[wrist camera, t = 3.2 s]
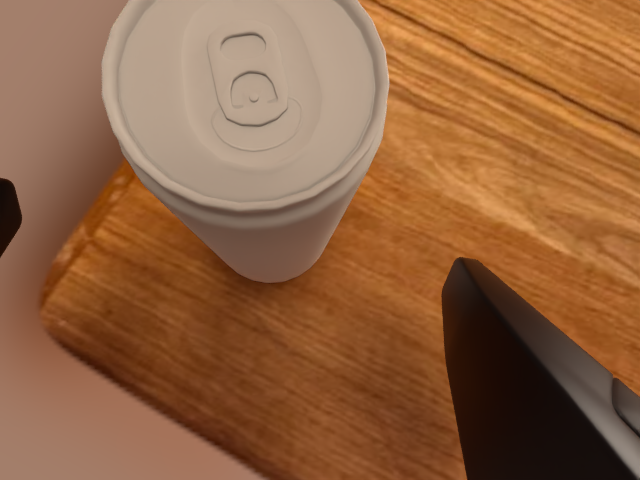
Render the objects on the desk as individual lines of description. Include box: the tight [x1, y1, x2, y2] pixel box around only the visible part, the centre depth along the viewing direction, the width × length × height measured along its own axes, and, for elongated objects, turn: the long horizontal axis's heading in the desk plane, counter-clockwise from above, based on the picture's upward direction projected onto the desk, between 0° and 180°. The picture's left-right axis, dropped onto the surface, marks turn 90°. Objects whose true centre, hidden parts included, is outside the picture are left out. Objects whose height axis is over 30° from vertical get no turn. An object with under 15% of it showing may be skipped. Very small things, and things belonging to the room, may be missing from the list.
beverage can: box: [102, 0, 389, 283], centre depth 13 cm, size 5×5×12 cm
